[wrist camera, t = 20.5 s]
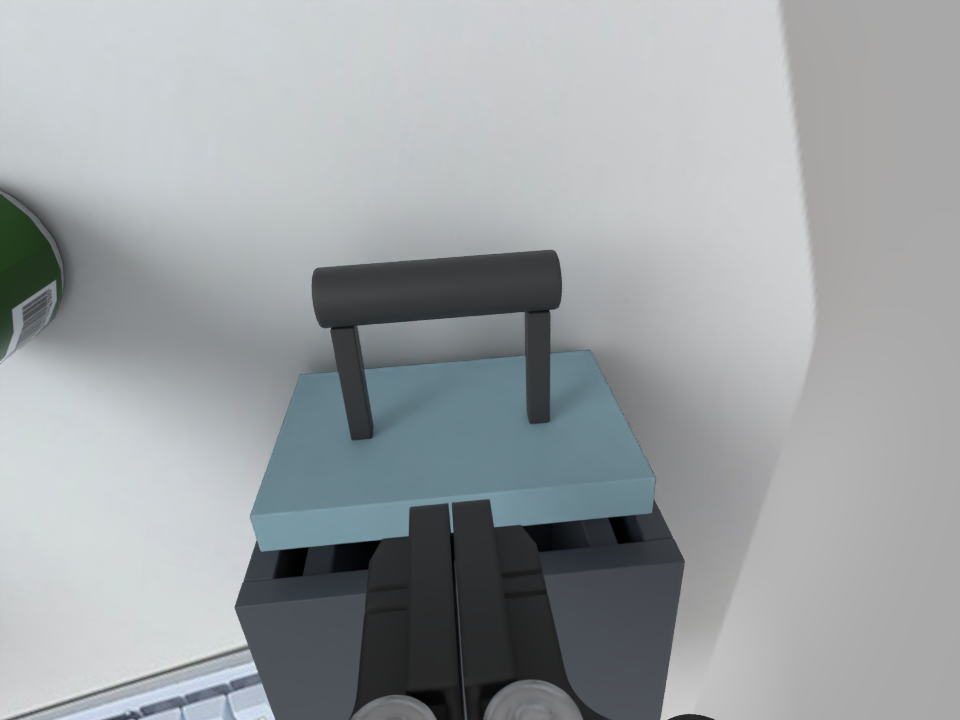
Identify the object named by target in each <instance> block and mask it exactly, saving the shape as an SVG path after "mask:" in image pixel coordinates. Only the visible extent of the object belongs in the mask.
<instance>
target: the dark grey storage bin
mask: <svg viewBox="0 0 960 720" xmlns="http://www.w3.org/2000/svg"><path fill="white" fill-rule="evenodd" d="M608 518H609V521H610V524H611V526H612V529H613V531H614V534H615V537H616V539H617V542H618V544H615V545H605V546H595V547H585V548H575V549H565V550H555V551H546V552H538V553H539V557H540V561H541V566H542V572H543V575H544V579H545V583H546V588H547V595H548V597H549V601H550V606H551V610H552V614H553V619H554V623H555V628H556V632H557V636H558V641H559V645H560V650H561V654H562V659H563V663H564V667H565V672H566V675H567V678H568V681H569V683H570V685H571V687H572V689H573V690H574V692H575V693H576V695H577V696H578V697H579V698H580V699H581V700H582V701H583V703H585V704H586V705H587V706H588V707H589V708H590V709H592V710H593V711H595V712H596V713H598V714H600V715H602V716H604V717H606V718H608V719H611V720H660V718H661V712H662V705H663V699H664V692H665V686H666V680H667V673H668V667H669V660H670V654H671V647H672V641H673V634H674V628H675V622H676V615H677V609H678V602H679V596H680V589H681V583H682V576H683V570H684V563H685V561H684V559H683V556H682V554H681V552H680V550H679V548H678V546H677V544H676V542H675V540H674V539H673V537H672V535H671V533H670V531H669V529H668V527H667V524H666V522H665V520H664V518H663V516H662V514H661V512H660V510H659V508H658V506H657V504H656V502H655V500H653V509H652V513H649V514H639V515H629V516H618V517H608ZM308 548H309V547H304V548H294V549H284V550H274V551H264V552H262V551H260V548H259V545H258V541H256V544H255V547H254V550H253V553H252V556H251V559H250V562H249V565H248V569H247V572H246V575H245V578H244V582H243V583H242V586H241V589H240V592H239V595H238V598H237V601H236V604H235V610H236V613H237V616H238V618H239V621H240V624H241V627H242V629H243V632H244V635H245V638H246V640H247V643H248V646H249V649H250V651H251V654H252V657H253V660H254V662H255V665H256V668H257V671H258V673H259V676H260V679H261V682H262V684H263V687H264V690H265V693H266V695H267V698H268V701H269V703H270V706H271V709H272V712H273V714H274V717H275V720H349V719H350V716H351V714H352V712H353V709H354V706H355V701H356V695H357V685H358V674H359V664H360V653H361V642H362V632H363V621H364V614H365V600H366V593H367V579H368V569H367V570H357V571H347V572H337V573H327V574H317V575H308V576H303V571H304V567H305V562H306V557H307V553H308ZM454 566H455V578H456V591H457V576H456V562H455V561H454ZM457 606H458V591H457ZM458 621H459V606H458ZM459 637H460V652H461V667H462V683H463V698H464V713H465V720H467V712H466V702H465V692H464V680H463V666H462V651H461V636H460V621H459Z"/></svg>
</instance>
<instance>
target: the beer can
mask: <svg viewBox="0 0 960 720" xmlns="http://www.w3.org/2000/svg"><path fill="white" fill-rule="evenodd" d="M63 287H64V276H63V261H62V258H61V256H60V253H59V251H58V248H57V246H56V243H55V241H54V238H53V237H52V236H51V234H50V233H49V232H48V230H47V229H46V228H45V226H44V225H43V224H42V223H41V221H40V220H39V219H38V217H37V216H36V215H35V214H34V213H32V212H31V211H30V210H29V209H27V208H26V207H25V206H24V205H22V204H21V203H20V202H19V201H17V200H16V199H15V198H14V197H12V196H10V195H8V194H6V193H4V192H2V191H0V364H1V363H2V362H3V361H5V360H6V359H7V358H8V357H10V356H11V355H12V354H13V353H15V352H16V351H17V350H18V349H20V348H21V347H22V346H23V345H25V344H26V343H27V342H28V341H30V340H31V339H32V338H33V337H35V336H36V335H37V334H38V333H39V332H40V331H41V330H42V329H43V328H44V327H45V326H47V325H48V324H49V323H50V322H51V321H52V320H53V319H54V318H55V315H56V312H57V309H58V307H59V304H60V301H61V299H62V296H63Z"/></svg>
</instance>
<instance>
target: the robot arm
mask: <svg viewBox="0 0 960 720" xmlns="http://www.w3.org/2000/svg"><path fill="white" fill-rule="evenodd" d="M452 517H453V532H454V547H455V562H456V576H457V591H458V606H459V621H460V636H461V651H462V666H463V680H464V692H465V702H466V712H467V720H611V719H608V718H606V717H604V716H602V715H600V714H598V713H596V712H595V711H593V710H592V709H590V708H589V707H588V706H587V705H586V704H585V703H583V701H582V700H581V699H580V698H579V697H578V696H577V695H576V693H575V692H574V690H573V689H572V687H571V685H570V683H569V681H568V678H567V675H566V672H565V667H564V663H563V659H562V654H561V650H560V645H559V641H558V636H557V632H556V628H555V623H554V619H553V614H552V610H551V606H550V601H549V597H548V595H547V588H546V583H545V579H544V575H543V572H542V566H541V561H540V557H539V553H538V548H537V544H536V543H535V542H534V541H533V539H532V538H531V537H530V536H529V534H528V533H527V532H526V531H525V529H524V528H523V527H522V526H521V525H512V526H502V527H494V523H493V516H492V510H491V503H490V499H483V500H473V501H463V502H452ZM457 591H456V578H455V566H454V556H453V545H452V535H451V525H450V514H449V505H448V503H444V504H434V505H424V506H413V507H410V509H409V536H404V537H394V538H384V539H382V541H381V542H380V544H379V546H378V548H377V549H376V551H375V553H374V554H373V556H372V558H371V559H370V561H369V568H368V579H367V593H366V600H365V614H364V621H363V632H362V642H361V653H360V664H359V674H358V685H357V695H356V701H355V706H354V709H353V712H352V714H351V716H350V719H349V720H465V713H464V698H463V683H462V667H461V652H460V637H459V621H458V606H457ZM668 720H714V719H712V718H709V717H706V716H701V715H696V714H685V715H679V716H675V717H673V718H670V719H668Z"/></svg>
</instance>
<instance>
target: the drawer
mask: <svg viewBox="0 0 960 720" xmlns="http://www.w3.org/2000/svg"><path fill="white" fill-rule="evenodd" d="M561 296H562V278H561V268H560V263H559V259H558V256H557V253H556V252H555V251H554V250H541V251H528V252H515V253H502V254H490V255H477V256H464V257H451V258H438V259H425V260H412V261H399V262H386V263H373V264H360V265H348V266H335V267H322V268H317V269H315V270H314V272H313V276H312V299H313V306H314V311H315V315H316V318H317V321H318V323H319V325H320V326H321V327H323V328H331V337H332V342H333V347H334V352H335V358H336V363H337V368H338V372H326V373H314V374H303V375H300V376H299V379H298V382H297V384H296V387H295V390H294V393H293V396H292V398H291V401H290V404H289V407H288V410H287V413H286V415H285V418H284V421H283V424H282V427H281V430H280V432H279V435H278V438H277V441H276V444H275V446H274V449H273V452H272V455H271V458H270V461H269V463H268V466H267V469H266V472H265V475H264V478H263V480H262V483H261V486H260V489H259V492H258V494H257V497H256V500H255V503H254V506H253V509H252V511H251V514H250V519H251V522H252V525H253V529H254V532H255V535H256V538H257V541H258V545H259V548H260V551H262V552H264V551H274V550H284V549H294V548H304V547H309V548H308V553H307V557H306V562H305V567H304V571H303V576H308V575H317V574H327V573H337V572H347V571H357V570H367V569H368V568H369V561H370V559H371V558H372V556H373V554H374V553H375V551H376V549H377V548H378V546H379V544H380V542H381V541H382V539H384V538H394V537H404V536H409V509H410V507H413V506H424V505H434V504H444V503H448V505H449V514H450V525H451V535H452V545H453V556H454V561H455V547H454V532H453V517H452V502H463V501H473V500H483V499H490V503H491V510H492V516H493V523H494V527H502V526H512V525H521V526H522V527H523V528H524V529H525V531H526V532H527V533H528V534H529V536H530V537H531V538H532V539H533V541H534V542H535V543H536V544H537V548H538V552H546V551H555V550H565V549H575V548H585V547H595V546H605V545H615V544H618V542H617V539H616V537H615V534H614V531H613V529H612V526H611V524H610V521H609V518H608V517H618V516H629V515H639V514H649V513H652V509H653V500H654V491H655V482H656V477H655V475H654V473H653V471H652V469H651V467H650V465H649V463H648V461H647V459H646V457H645V455H644V453H643V451H642V449H641V448H640V446H639V444H638V442H637V440H636V438H635V436H634V434H633V432H632V430H631V428H630V426H629V424H628V422H627V421H626V419H625V417H624V415H623V413H622V411H621V409H620V407H619V405H618V403H617V401H616V399H615V397H614V395H613V393H612V392H611V390H610V388H609V386H608V384H607V382H606V380H605V378H604V376H603V374H602V372H601V370H600V368H599V366H598V364H597V363H596V361H595V359H594V357H593V355H592V353H591V351H590V350H583V351H572V352H560V353H550V311H549V310H552V309H557V308H558V307H559V305H560V302H561ZM516 312H525V356H513V357H502V358H490V359H478V360H466V361H455V362H443V363H431V364H420V365H408V366H396V367H385V368H373V369H364V365H363V359H362V353H361V347H360V341H359V335H358V329H357V325H369V324H382V323H394V322H406V321H418V320H430V319H443V318H455V317H467V316H479V315H491V314H503V313H516Z"/></svg>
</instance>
